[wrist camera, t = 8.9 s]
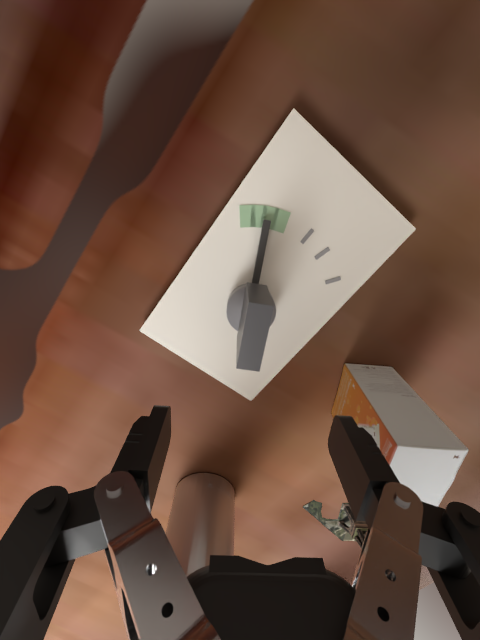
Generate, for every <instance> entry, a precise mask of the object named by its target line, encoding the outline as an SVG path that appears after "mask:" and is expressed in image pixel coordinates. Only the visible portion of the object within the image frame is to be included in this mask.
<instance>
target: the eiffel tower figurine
mask: <svg viewBox="0 0 480 640" xmlns="http://www.w3.org/2000/svg"><path fill="white" fill-rule="evenodd" d="M303 508H304V509H306V510H307V511H308V512H309V513H310V514H311V515H313V516H314V517H315V518H316V519H317V520H318V521H320V522H321V523H322V524H323V525H324V526H325V527H326V528H328V529H329V530H330V531H331V532H332V533H333V534H335V535H336V536H337V537H338V538H339V539H341V540H342V541H357V543H358V544H359V546H360V547H361V548H362V546H363V542H364V539H365V536H366V532H367V530H368V526H367V523H366V521H355V518H354V515H353V513H352V510H351V508H350V505H349V503H343V504H342V507H341V510H340V514H339V517H338V519H334V520H333V519H326V518H322V515H321V508H322V503H320V502H317V501H315V500H313V501H311V502H310V503H308V504H307V505H305V506H303Z"/></svg>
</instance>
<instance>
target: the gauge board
mask: <svg viewBox="0 0 480 640" xmlns="http://www.w3.org/2000/svg"><path fill="white" fill-rule="evenodd" d="M263 219H265V220H271V224H270V229H269V234H268V239H267V244H266V250H265V255H264V260H263V265H262V270H261V275H260V280H259V284H262V285H267V287H268V290H269V292H270V293H271V295H272V297H273V300H274V303H275V306H276V316H275V320H274V322H273V323H272V325H271V326H270V327H269V332H268V336H267V340H266V345H265V349H264V354H263V358H262V363H261V367H260V372H258V371H250V370H243V369H236V354H237V333H238V331H237V330H235V329H234V328H233V327H232V326H231V325H230V323H229V321H228V318H227V312H226V311H227V302H228V298H229V296H230V294H231V293H232V291H233V290H234V289H235V288H237V287H238V286H240V285H242V284H246V283H247V282H249V283H252V278H253V272H254V267H255V262H256V256H257V251H258V245H259V240H260V235H261V229H262V224H263ZM415 230H416V228H415V227H414V226H413V225H412V224H411V223H410V222H409V221H408V220H407V219H406V218H405V217H404V216H402V215H401V214H400V213H399V212H398V211H397V210H396V209H395V208H394V207H393V206H392V205H391V204H390V203H389V202H388V201H387V200H386V199H385V198H384V197H383V196H382V195H381V194H380V193H379V192H378V191H377V190H376V189H375V188H374V187H373V186H372V185H371V184H370V183H369V182H368V181H367V180H366V179H365V178H364V177H363V176H362V175H361V174H360V173H359V172H358V171H357V170H356V169H355V168H354V167H353V166H352V165H351V164H350V163H349V162H348V161H347V160H346V159H345V158H344V157H343V156H342V155H341V154H340V153H339V152H338V151H337V150H336V149H335V148H334V147H333V146H332V145H331V144H330V143H329V142H328V141H327V140H325V139H324V138H323V137H322V136H321V135H320V134H319V133H318V132H317V131H316V130H315V129H314V128H313V127H312V126H311V125H310V124H309V123H308V122H307V121H306V120H305V119H304V118H303V117H302V116H301V115H300V114H299V113H298V112H297V111H296V110H295V109H294V108H293V110H292V111H291V112H290V114H289V115H288V117H287V118H286V120H285V121H284V123H283V124H282V125H281V127H280V128H279V130H278V131H277V133H276V134H275V136H274V137H273V138H272V140H271V141H270V143H269V144H268V146H267V147H266V149H265V150H264V151H263V153H262V154H261V156H260V157H259V159H258V160H257V162H256V163H255V164H254V166H253V167H252V169H251V170H250V172H249V173H248V175H247V176H246V177H245V179H244V180H243V182H242V183H241V185H240V186H239V187H238V189H237V190H236V192H235V193H234V195H233V196H232V198H231V199H230V200H229V202H228V203H227V205H226V206H225V208H224V209H223V211H222V212H221V213H220V215H219V216H218V218H217V219H216V221H215V222H214V224H213V225H212V226H211V228H210V229H209V231H208V232H207V234H206V235H205V237H204V238H203V239H202V241H201V242H200V244H199V245H198V247H197V248H196V250H195V251H194V252H193V254H192V255H191V257H190V258H189V260H188V261H187V263H186V264H185V265H184V267H183V268H182V270H181V271H180V273H179V274H178V275H177V277H176V278H175V280H174V281H173V283H172V284H171V286H170V287H169V288H168V290H167V291H166V293H165V294H164V296H163V297H162V299H161V300H160V301H159V303H158V304H157V306H156V307H155V309H154V310H153V312H152V313H151V314H150V316H149V317H148V319H147V320H146V322H145V323H144V325H143V326H142V327H141V329H140V330H139V331H140V332H142V333H144V334H145V335H147V336H148V337H150V338H152V339H153V340H155V341H156V342H158V343H160V344H161V345H163V346H164V347H166V348H167V349H169V350H171V351H172V352H174V353H175V354H177V355H179V356H180V357H182V358H183V359H185V360H187V361H188V362H190V363H191V364H193V365H194V366H196V367H198V368H199V369H201V370H202V371H204V372H206V373H207V374H209V375H210V376H212V377H214V378H215V379H217V380H218V381H220V382H221V383H223V384H225V385H226V386H228V387H229V388H231V389H233V390H234V391H236V392H237V393H239V394H241V395H242V396H244V397H245V398H247V399H248V400H250V401H252V400H253V399H254V398H255V396H256V395H257V394H258V393H259V392H260V391H261V390H262V389H263V388H264V387H265V386H266V385H267V384H268V383H269V382H270V381H271V380H272V379H273V378H274V377H275V376H276V375H277V374H278V373H279V371H280V370H281V369H282V368H283V367H284V366H285V365H286V364H287V363H288V362H289V361H290V360H291V359H292V358H293V357H294V356H295V355H296V354H297V353H298V352H299V351H300V350H301V349H302V347H303V346H304V345H305V344H306V343H307V342H308V341H309V340H310V339H311V338H312V337H313V336H314V335H315V334H316V333H317V332H318V331H319V330H320V329H321V328H322V327H323V326H324V325H325V323H326V322H327V321H328V320H329V319H330V318H331V317H332V316H333V315H334V314H335V313H336V312H337V311H338V310H339V309H340V308H341V307H342V306H343V305H344V304H345V303H346V302H347V301H348V299H349V298H350V297H351V296H352V295H353V294H354V293H355V292H356V291H357V290H358V289H359V288H360V287H361V286H362V285H363V284H364V283H365V282H366V281H367V280H368V279H369V278H370V277H371V275H372V274H373V273H374V272H375V271H376V270H377V269H378V268H379V267H380V266H381V265H382V264H383V263H384V262H385V261H386V260H387V259H388V258H389V257H390V256H391V255H392V254H393V253H394V251H395V250H396V249H397V248H398V247H399V246H400V245H401V244H402V243H403V242H404V241H405V240H406V239H407V238H408V237H409V236H410V235H411V234H412V233H413V232H414V231H415Z"/></svg>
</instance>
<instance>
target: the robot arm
mask: <svg viewBox="0 0 480 640" xmlns="http://www.w3.org/2000/svg"><path fill="white" fill-rule="evenodd" d="M170 438H171V408H170V406H156V405H155V406H154V407H153V409H152V412H151V414H150V416H141V417H140V418H139V419H138V420H137V421H136V422H135V423H134V424H133V426H132V428H131V430H130V432H129V435H128V436H127V438H126V441H125V443H124V445H123V447H122V449H121V451H120V453H119V456H118V458H117V460H116V462H115V464H114V466H113V468H112V471H111V472H110V474H108V475H106V476H105V477H103V478H102V479H101V480H100V481H99V482H98V484H97V485H96V486H94V487H92V488H89V489H86V490H82V491H78V492H74V493H70V494H68V492H67V490H66V489H65V488H64V487H61V486H50V487H46V488H44V489H42V490H39V491H38V492H36V493H35V494H33V495H32V496H31V497H30V498H29V499H28V500H27V501H26V502H25V503H24V505H23V506H22V508H21V509H20V511H19V512H18V514H17V515H16V517H15V519H14V520H13V522H12V523H11V525H10V526H9V528H8V529H7V531H6V533H5V534H4V536H3V537H2V539H1V540H0V640H43V639H44V637H45V634H46V632H47V629H48V627H49V624H50V622H51V619H52V617H53V614H54V612H55V609H56V607H57V604H58V602H59V599H60V596H61V594H62V591H63V589H64V586H65V584H66V581H67V579H68V576H69V574H70V571H71V569H72V566H73V564H74V561H75V559H76V558H78V557H81V556H84V555H87V554H91V553H94V552H97V551H100V550H104V553H105V556H106V560H107V563H108V567H109V570H110V573H111V577H112V580H113V584H114V587H115V590H116V594H117V597H118V601H119V606H120V610H121V614H122V618H123V622H124V625H125V629H126V632H127V636H128V639H129V640H414V631H415V622H416V613H417V603H418V594H419V584H420V574H421V565H424V566H426V567H427V568H428V570H429V572H430V574H431V576H432V578H433V581H434V583H435V585H436V587H437V589H438V591H439V593H440V595H441V597H442V599H443V601H444V603H445V605H446V607H447V609H448V612H449V614H450V615H451V618H452V620H453V622H454V624H455V626H456V628H457V630H458V632H459V634H460V636H461V639H462V640H480V513H479V512H478V511H476V510H475V509H473V508H472V507H470V506H468V505H466V504H464V503H460V502H451V503H449V504H448V505H447V507H446V509H443V508H440V507H437V506H434V505H431V504H428V503H425V502H422V501H421V500H420V498H419V497H418V495H417V494H416V493H415V492H414V491H413V490H411V489H410V488H409V487H407V486H405V485H403V484H401V483H400V482H399V480H398V479H397V477H396V475H395V474H394V472H393V470H392V469H391V467H390V465H389V464H388V462H387V460H386V459H385V457H384V455H382V452H381V450H380V449H379V447H378V446H377V444H376V442H375V440H374V438H373V437H372V435H371V434H369V433H368V432H367V431H366V430H365V429H364V428H363V427H358V426H357V424H356V422H355V420H354V419H353V417H352V416H343V415H335V416H334V419H333V423H332V427H331V430H330V434H329V438H328V448H329V453H330V455H331V458H332V461H333V463H334V466H335V468H336V471H337V474H338V476H339V479H340V481H341V484H342V487H343V489H344V492H345V494H346V497H347V500H348V502H349V505H350V508H351V510H352V513H353V515H354V518H355V521H366V523H367V526H368V530H367V532H366V536H365V539H364V542H363V546H362V549H361V553H360V556H359V559H358V563H357V566H356V569H355V573H354V576H353V579H352V582H351V585H350V584H349V583H348V582H347V581H346V580H344V579H343V578H342V577H340V576H338V575H337V574H335V573H333V572H331V571H329V570H326V569H325V566H324V562H323V558H300V557H295V558H292V559H288V560H285V561H282V562H278V563H275V564H272V565H264V564H261V563H258V562H255V561H252V560H249V559H246V558H243V557H240V556H234V500H235V492H234V488H233V487H232V485H231V484H230V483H229V482H228V481H227V480H226V479H224V478H223V477H221V476H218V475H215V474H211V473H197V474H192V475H190V476H187V477H185V478H184V479H182V480H181V481H180V482H179V483H178V485H177V487H176V490H175V495H174V499H173V503H172V508H171V512H170V516H169V521H168V526H167V530H166V534H165V532H164V530H163V528H162V526H161V524H160V522H159V521H158V519H156V518H155V519H153V517H152V515H151V509H152V506H153V502H154V499H155V495H156V491H157V488H158V484H159V480H160V477H161V473H162V469H163V466H164V462H165V459H166V455H167V451H168V448H169V444H170Z"/></svg>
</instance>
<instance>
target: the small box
mask: <svg viewBox="0 0 480 640" xmlns="http://www.w3.org/2000/svg"><path fill="white" fill-rule="evenodd" d="M331 414H332V416H333V419H334V416H335V415H343V416H352V417H353V419H354V420H355V422H356V424H357V426H358V427H363V428H364V429H365V430H366V431H367V432H368V433H369V434H371V435H372V437H373V438H374V440H375V442H376V444H377V446H378V447H379V449H380V450H381V452H382V455H384V457H385V459H386V460H387V462H388V464H389V465H390V467H391V469H392V470H393V472H394V474H395V475H396V477H397V479H398V480H399V482H400V483H401V484H403V485H405V486H407V487H409V488H410V489H411V490H413V491H414V492H415V493H416V494H417V495H418V497H419V498H420V500H421V501H422V502H425V503H428V504H431V505H434V506H437V507H438V506H439V504H440V502H441V500H442V499H443V497H444V495H445V493H446V492H447V490H448V489H449V487H450V486H451V484H452V483H453V481H454V479H455V476H456V473H457V471H458V469H459V467H460V465H461V464H462V462H463V460H464V458H465V456H466V454H467V453H468V448H467V447H466V446H465V445H464V444H463V443H462V442H461V441H460V440H459V439H458V438H457V437H456V435H455V434H454V433H453V432H452V431H451V430H450V429H449V428H448V427H447V426H446V425H445V424H444V423H443V421H442V420H441V419H440V418H439V417H438V416H437V415H436V414H435V413H434V412H433V411H432V410H431V409H430V407H429V406H428V405H427V404H426V403H425V402H424V401H423V400H422V399H421V398H420V397H419V395H418V394H417V393H416V392H415V391H414V390H413V389H412V388H411V387H410V386H409V385H408V384H407V383H406V381H405V380H404V379H403V378H402V377H401V376H400V375H399V374H398V373H397V372H396V371H395V370H394V369H393V367H388V366H375V365H362V364H348V363H345V364H344V367H343V372H342V376H341V380H340V383H339V387H338V391H337V394H336V398H335V401H334V405H333V408H332V411H331Z"/></svg>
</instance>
